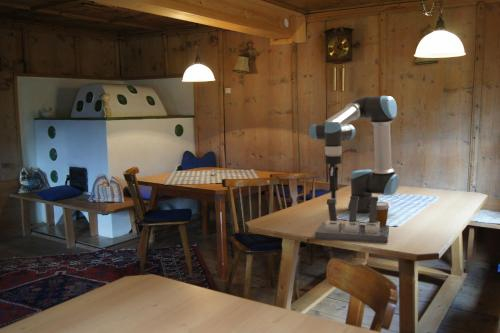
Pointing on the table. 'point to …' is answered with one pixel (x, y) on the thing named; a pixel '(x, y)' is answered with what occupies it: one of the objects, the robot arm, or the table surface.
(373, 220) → the end handle
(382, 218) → the disposable coffee cup
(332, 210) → the handle
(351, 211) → the middle handle
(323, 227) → the breaker panel
